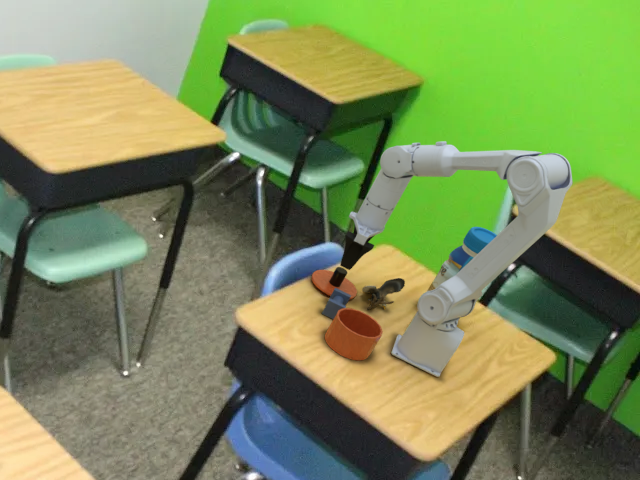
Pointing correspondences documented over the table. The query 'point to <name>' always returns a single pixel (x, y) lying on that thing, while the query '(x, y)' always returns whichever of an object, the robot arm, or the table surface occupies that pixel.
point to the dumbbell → (336, 303)
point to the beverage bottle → (463, 254)
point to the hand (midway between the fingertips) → (349, 259)
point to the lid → (333, 281)
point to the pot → (353, 334)
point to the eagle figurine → (383, 292)
